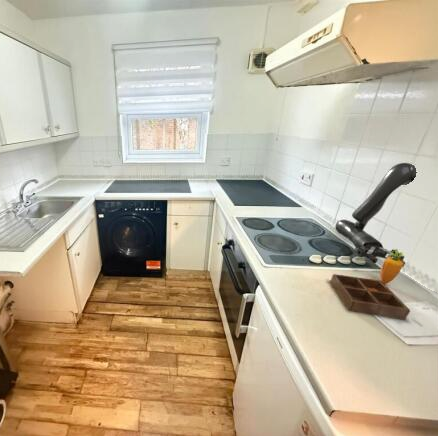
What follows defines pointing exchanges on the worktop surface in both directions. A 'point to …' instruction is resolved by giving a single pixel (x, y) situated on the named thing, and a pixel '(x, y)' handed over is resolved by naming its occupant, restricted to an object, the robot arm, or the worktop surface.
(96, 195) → the worktop surface
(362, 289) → the grid
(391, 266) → the carrot
